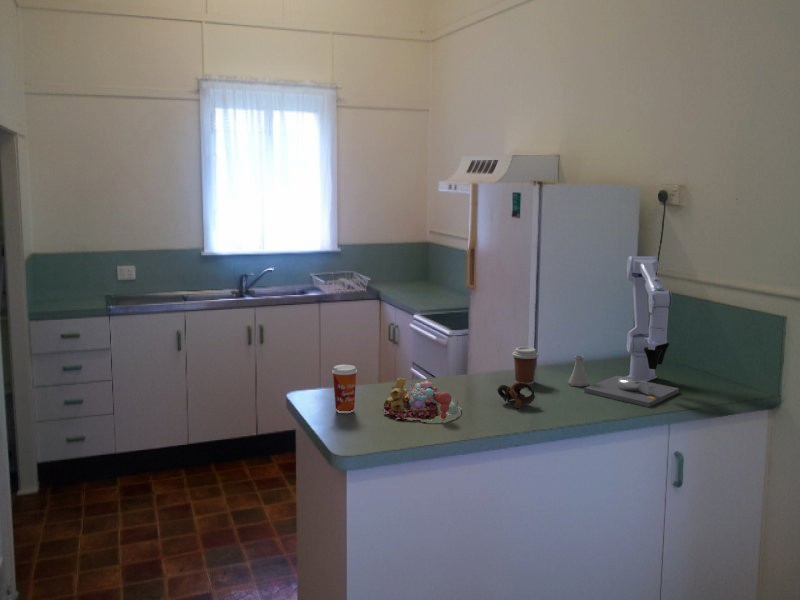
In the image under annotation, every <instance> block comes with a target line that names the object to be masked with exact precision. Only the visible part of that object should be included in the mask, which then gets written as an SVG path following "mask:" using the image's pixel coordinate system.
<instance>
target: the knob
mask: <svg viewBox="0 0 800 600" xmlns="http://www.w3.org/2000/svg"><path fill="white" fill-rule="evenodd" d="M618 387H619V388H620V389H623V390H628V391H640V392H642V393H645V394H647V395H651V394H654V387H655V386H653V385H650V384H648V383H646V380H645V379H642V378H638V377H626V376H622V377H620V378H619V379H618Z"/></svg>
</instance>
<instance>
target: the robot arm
mask: <svg viewBox="0 0 800 600" xmlns="http://www.w3.org/2000/svg"><path fill="white" fill-rule="evenodd" d="M658 268H659V260H658V257H657V256H655V255H654V256H632V255H629V256H628V257H627V260H626V277H627V281H629V282H630V283H631V284H632V294H633V295H632V296H633V297H632V299H633V315H634V327H632V329H630V330H629V331H628V332H627V334H626V344H625V345H626V351H627V353H629V354H630V363H629V364H630V365H629V366H630V367H629V374H628V375H627V376H626V375H625V377H638V378H642V379H645V380H646V382H649V381H651V380H654V379H657V378H658V376H657V375H656V370H657V367H658V365H662V364H663V361H664V359H665V355H666V352H667V350H668V348H669V346H670V343H669V342H668V340H667V336H668V323H669V309H670V308H672V305H673V295H672V291H671V290H668V289H666V287H665V285H664V282H663V281H662V279H661V278H660V277H658V276H657V272H658Z"/></svg>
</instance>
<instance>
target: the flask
mask: <svg viewBox="0 0 800 600" xmlns="http://www.w3.org/2000/svg"><path fill="white" fill-rule="evenodd" d="M574 359H575V361H574V362H575V364H574V367H573V370H572V373H571V375H570V377H569V379H568V385H569V386H571V387H588V386H590V385H589V380H588V376H587V373H586V369H585V365H584V359H585V356H583V355H575V356H574Z"/></svg>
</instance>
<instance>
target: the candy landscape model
mask: <svg viewBox="0 0 800 600" xmlns="http://www.w3.org/2000/svg"><path fill="white" fill-rule="evenodd" d="M405 385H406V378H404V377H398V378H397V379H396V382H395V385H394V386H391V391H390V393H389V395H390V397H388V398H387V399H386V400H385V401H384V403H383V406H382V408H383V407H384V409H385V410H383V414H384V413H388V414H389V416H390V417H393V416H394V415H397V416H395V418H396V417H397V418H400V419H404V418H407V419H419V420H422V421H430V420H431V421H432V420H433V419H434V418H435V417H436V416H440V415H441V421H444V420H446V419H445V418H446V417H447V414H448V415H457V414H459V413H460V409H462V408H461V407H460V406H459V400H457V401H455V400H454V399H452V396H451V394H450V393H449V392H447V391H443V392H440V390H439V389H438V387H436V386H434V383H433V382H430V381H429V380H425V381H419V382H417V380H415V381H414V384H413V382H411V384H410V387H409V390H408V388H405ZM459 408H460V409H459Z"/></svg>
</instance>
